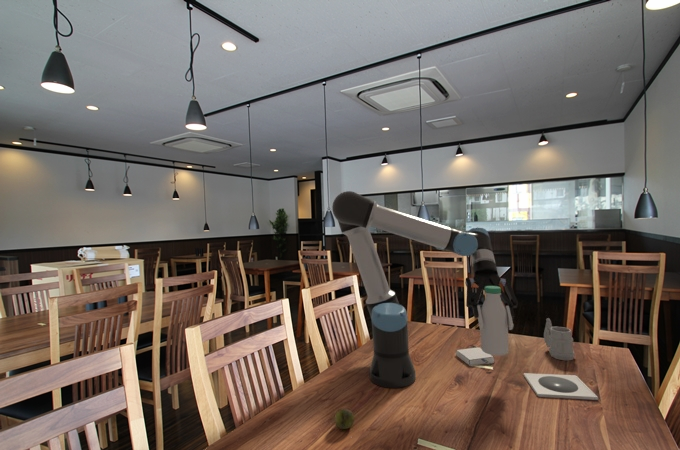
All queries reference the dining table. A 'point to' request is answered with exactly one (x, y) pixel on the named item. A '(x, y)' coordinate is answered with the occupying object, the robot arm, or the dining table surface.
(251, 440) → the dining table surface
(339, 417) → the lime
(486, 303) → the milk bottle
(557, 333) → the mug
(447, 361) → the dining table surface
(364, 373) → the dining table surface
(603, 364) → the dining table surface
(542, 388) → the pad
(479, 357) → the white block with labels
